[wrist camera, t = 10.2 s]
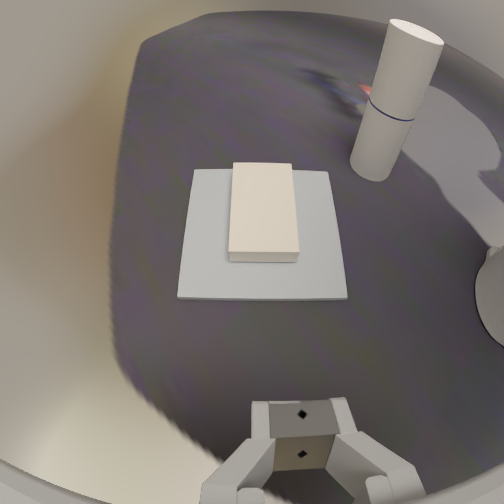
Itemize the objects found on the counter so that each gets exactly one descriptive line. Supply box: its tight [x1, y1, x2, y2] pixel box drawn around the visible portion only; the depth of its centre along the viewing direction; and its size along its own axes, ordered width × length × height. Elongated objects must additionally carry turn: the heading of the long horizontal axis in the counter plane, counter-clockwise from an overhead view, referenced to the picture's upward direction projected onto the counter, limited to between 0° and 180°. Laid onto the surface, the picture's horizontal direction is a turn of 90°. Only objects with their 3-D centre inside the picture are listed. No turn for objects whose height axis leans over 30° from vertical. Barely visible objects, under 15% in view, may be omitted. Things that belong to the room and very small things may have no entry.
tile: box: [228, 163, 299, 262], centre depth 40 cm, size 8×3×14 cm
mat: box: [177, 169, 348, 301], centre depth 40 cm, size 20×20×1 cm
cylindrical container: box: [350, 19, 444, 181], centre depth 36 cm, size 7×7×25 cm
